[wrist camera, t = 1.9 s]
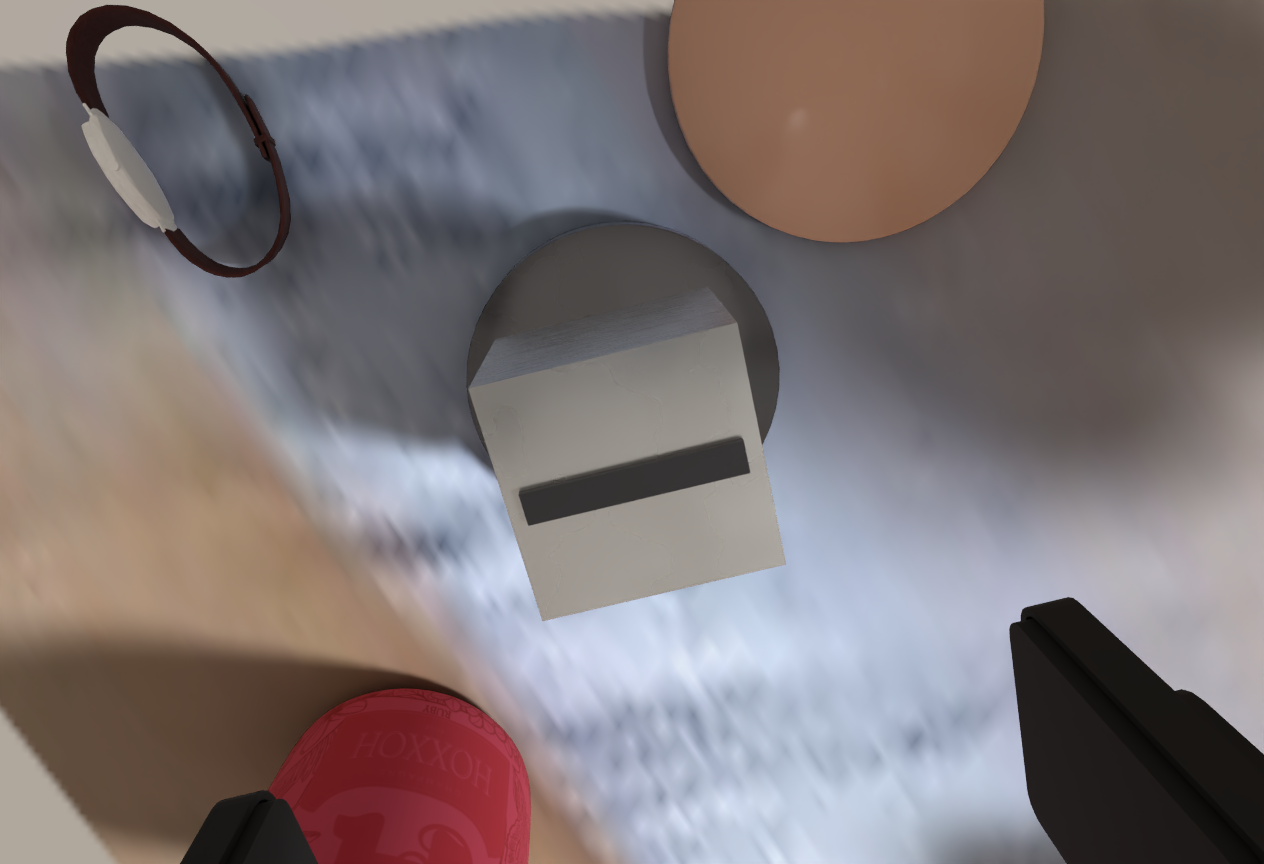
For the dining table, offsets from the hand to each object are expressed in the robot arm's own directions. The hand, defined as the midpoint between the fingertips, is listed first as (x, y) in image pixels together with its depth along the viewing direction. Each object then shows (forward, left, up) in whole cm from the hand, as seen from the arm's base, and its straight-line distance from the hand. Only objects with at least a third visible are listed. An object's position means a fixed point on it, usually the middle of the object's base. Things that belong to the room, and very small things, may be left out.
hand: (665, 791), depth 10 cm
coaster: (-9, -8, -19) cm, 22 cm away
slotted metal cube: (0, 0, -14) cm, 14 cm away
